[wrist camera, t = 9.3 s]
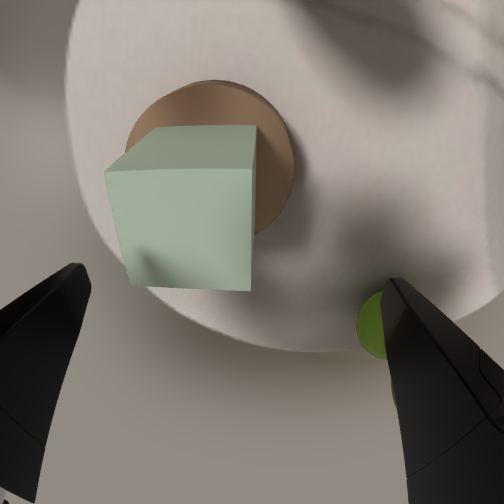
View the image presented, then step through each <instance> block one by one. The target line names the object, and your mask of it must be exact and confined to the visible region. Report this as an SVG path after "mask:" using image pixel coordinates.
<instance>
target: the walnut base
mask: <svg viewBox="0 0 504 504" xmlns="http://www.w3.org/2000/svg"><path fill="white" fill-rule="evenodd" d="M198 125H257V141H256V198H255V227H254V235H255V234H257V233H258V232H260V231H261V230H263V229H264V228H266V227H267V226H268V225H269V224H270V223H271V222H272V221H273V220H274V219H275V218H276V217H277V216H278V215H279V213H280V212H281V211H282V209H283V207H284V206H285V204H286V202H287V200H288V198H289V196H290V193H291V189H292V186H293V181H294V157H293V151H292V147H291V143H290V140H289V136H288V133H287V129H286V127H285V124H284V122H283V120H282V118H281V117H280V115H279V114H278V112H277V110H276V109H275V108H274V107H273V106H272V105H271V104H270V102H268V101H267V100H266V99H265V98H264V97H263V96H261V95H260V94H258V93H257V92H255V91H254V90H252V89H250V88H248V87H246V86H244V85H240V84H237V83H234V82H229V81H223V80H208V81H200V82H196V83H192V84H189V85H187V86H184V87H182V88H180V89H178V90H176V91H174V92H172V93H170V94H168V95H166V96H164V97H162V98H161V99H159V100H157V101H156V102H155V103H154V104H152V105H151V106H150V107H149V108H148V109H147V110H146V111H145V112H144V113H143V114H142V115H141V116H140V118H139V119H138V121H137V122H136V123H135V125H134V127H133V129H132V131H131V133H130V135H129V138H128V141H127V145H126V150H125V153H126V152H127V151H128V150H129V149H130V148H132V147H133V146H134V145H135V144H136V143H137V142H139V141H140V140H141V139H142V138H143V137H145V136H146V135H147V134H148V133H150V132H151V131H152V130H153V129H155V128H156V127H173V126H198Z"/></svg>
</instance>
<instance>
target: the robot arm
mask: <svg viewBox="0 0 504 504" xmlns="http://www.w3.org/2000/svg"><path fill="white" fill-rule="evenodd" d="M90 293H91V283H90V280H89V277H88V274H87V271H86V268H85V266H84V265H83V264H82V263H70V264H69V265H67V266H66V267H64V268H62V269H61V270H59V271H57V272H56V273H55V274H53V275H51V276H50V277H48V278H47V279H45V280H44V281H42V282H40V283H39V284H37V285H36V286H35V287H33V288H32V289H30V290H29V291H27V292H25V293H24V294H23V295H21V296H20V297H18V298H17V299H15V300H14V301H12V302H11V303H10V304H8V305H7V306H5V307H4V308H2V309H1V310H0V504H9V503H8V501H7V500H5V499H4V498H5V494H6V491H9V492H11V493H13V494H15V495H17V496H19V497H21V498H23V499H25V500H27V501H29V502H31V503H35V499H36V493H37V487H38V482H39V476H40V471H41V466H42V461H43V456H44V452H45V446H46V442H47V438H48V434H49V430H50V426H51V422H52V419H53V415H54V411H55V407H56V404H57V400H58V397H59V394H60V390H61V387H62V383H63V380H64V377H65V374H66V371H67V368H68V365H69V362H70V359H71V356H72V353H73V350H74V347H75V344H76V341H77V339H78V336H79V333H80V329H81V326H82V322H83V318H84V314H85V311H86V307H87V303H88V300H89V297H90ZM380 309H381V317H382V325H383V333H384V342H385V350H386V355H387V360H388V365H389V370H390V375H391V380H392V385H393V390H394V396H395V401H396V407H397V413H398V419H399V425H400V431H401V438H402V445H403V453H404V460H405V469H406V478H407V489H408V501H409V504H504V370H503V369H502V368H501V367H500V366H499V365H498V364H497V363H496V362H494V361H493V360H492V359H491V358H490V357H489V356H488V355H487V354H486V353H485V352H484V351H483V350H482V349H480V348H479V346H478V345H477V344H476V343H475V342H474V341H473V340H472V339H470V337H468V336H467V335H466V334H465V333H464V332H463V331H462V330H461V329H460V328H459V327H458V326H457V325H456V324H454V323H453V322H452V321H451V320H450V319H449V318H448V317H447V316H446V315H445V314H444V313H442V312H441V311H440V310H439V309H438V308H437V307H436V306H435V305H434V304H432V303H431V302H430V301H429V300H428V299H427V298H426V297H424V296H423V295H422V294H421V293H420V292H419V291H418V290H416V289H415V288H414V287H413V286H412V285H411V284H409V283H408V282H407V281H406V280H405V279H403V278H402V277H389V278H388V279H387V281H386V284H385V287H384V290H383V293H382V295H381V299H380Z"/></svg>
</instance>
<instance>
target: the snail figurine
mask: <svg viewBox="0 0 504 504" xmlns="http://www.w3.org/2000/svg"><path fill="white" fill-rule="evenodd" d="M382 293H383V290H382V291H380V292H377V293H375V294H374V295H372V296H371V297H370V298H368V299H367V300H366V302H365V303H364V304H363V306H362V307H361V309H360V311H359V314H358V317H357V324H356V328H357V335H358V338H359V340H360V342H361V344H362V346H363V347H364V348H365V349H366V350H367V351H368V352H369V353H370V354H372V355H374V356H375V357H378V358H382V359H387V355H386V350H385V342H384V333H383V325H382V317H381V309H380V299H381V295H382ZM391 387H392V395H393V400H394V404H395V406H396V401H395V396H394V390H393V385H392V380H391ZM396 409H397V407H396Z"/></svg>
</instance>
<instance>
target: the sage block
mask: <svg viewBox="0 0 504 504" xmlns="http://www.w3.org/2000/svg"><path fill="white" fill-rule="evenodd" d="M256 141H257V125H198V126H173V127H156V128H155V129H153V130H152V131H151V132H150V133H148V134H147V135H146V136H145V137H143V138H142V139H141V140H140V141H139V142H137V143H136V144H135V145H134V146H133V147H132V148H130V149H129V150H128V151H127V152H126V153H125V154H123V155H122V156H121V157H120V158H119V159H118V160H117V161H116V162H114V163H113V164H112V165H111V166H110V167H109V168H108V169H107V170H106V171H104V175H105V181H106V186H107V191H108V196H109V201H110V206H111V210H112V215H113V219H114V224H115V228H116V232H117V237H118V241H119V245H120V249H121V253H122V256H123V260H124V264H125V268H126V271H127V275H128V278H129V282H130V285H136V286H152V287H169V288H188V289H208V290H232V291H251V277H252V261H253V244H254V227H255V198H256Z"/></svg>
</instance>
